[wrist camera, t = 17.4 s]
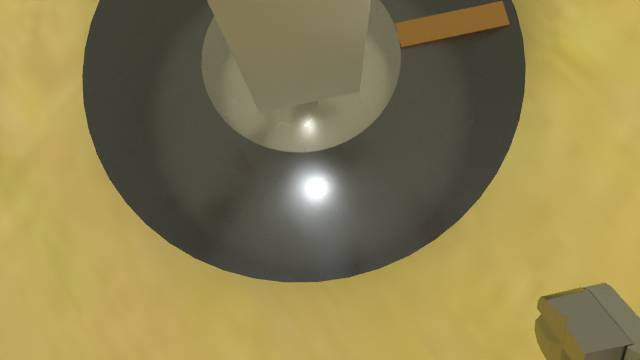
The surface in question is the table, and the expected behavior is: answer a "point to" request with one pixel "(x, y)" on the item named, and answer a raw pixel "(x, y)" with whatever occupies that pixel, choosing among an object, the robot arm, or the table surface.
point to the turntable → (303, 135)
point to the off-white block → (295, 47)
